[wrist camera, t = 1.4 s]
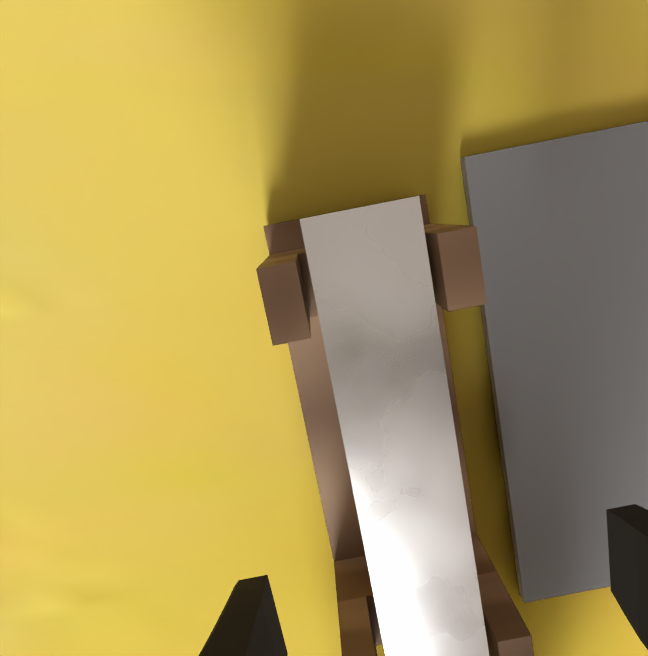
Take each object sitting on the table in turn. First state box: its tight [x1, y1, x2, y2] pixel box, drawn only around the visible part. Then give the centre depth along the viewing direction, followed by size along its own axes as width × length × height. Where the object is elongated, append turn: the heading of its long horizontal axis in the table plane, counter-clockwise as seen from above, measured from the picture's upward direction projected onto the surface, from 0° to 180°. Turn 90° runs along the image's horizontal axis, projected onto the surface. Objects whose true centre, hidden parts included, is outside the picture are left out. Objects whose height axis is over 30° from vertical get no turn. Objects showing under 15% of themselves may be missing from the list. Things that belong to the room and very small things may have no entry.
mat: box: [460, 121, 648, 603], centre depth 21 cm, size 18×8×1 cm, turn 11°
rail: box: [300, 196, 489, 656], centre depth 17 cm, size 16×3×3 cm, turn 11°
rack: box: [256, 195, 534, 656], centre depth 18 cm, size 16×6×6 cm, turn 11°
